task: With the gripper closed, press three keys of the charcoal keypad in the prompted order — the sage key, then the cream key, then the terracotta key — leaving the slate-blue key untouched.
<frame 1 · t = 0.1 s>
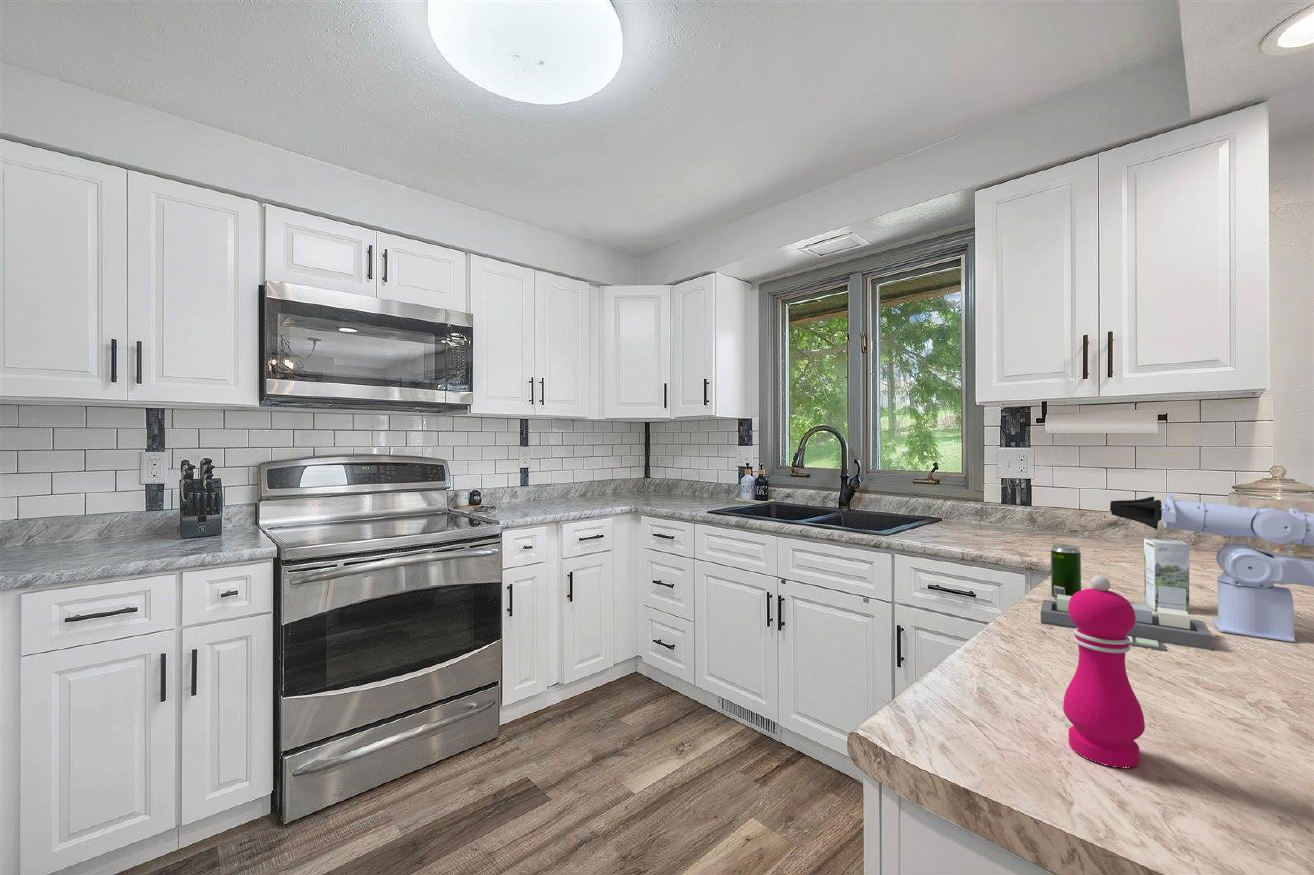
hand: (1111, 507, 115), 22 cm above the countertop, tool horizontal, fingers open, 7 cm apart
keypad base: (1119, 628, 105), on the countertop
key slate: (1136, 612, 104), point 3 cm above the countertop, slide at 0.0 cm
pepper mill: (1103, 755, 63), on the countertop
key sage: (1069, 603, 110), point 3 cm above the countertop, slide at 0.0 cm
key cream: (1173, 617, 100), point 3 cm above the countertop, slide at 0.0 cm
key terracotta: (1102, 608, 107), point 3 cm above the countertop, slide at 0.0 cm
beer can: (1066, 600, 124), on the countertop
syrup box: (1166, 610, 117), on the countertop
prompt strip: (1121, 641, 98), on the countertop
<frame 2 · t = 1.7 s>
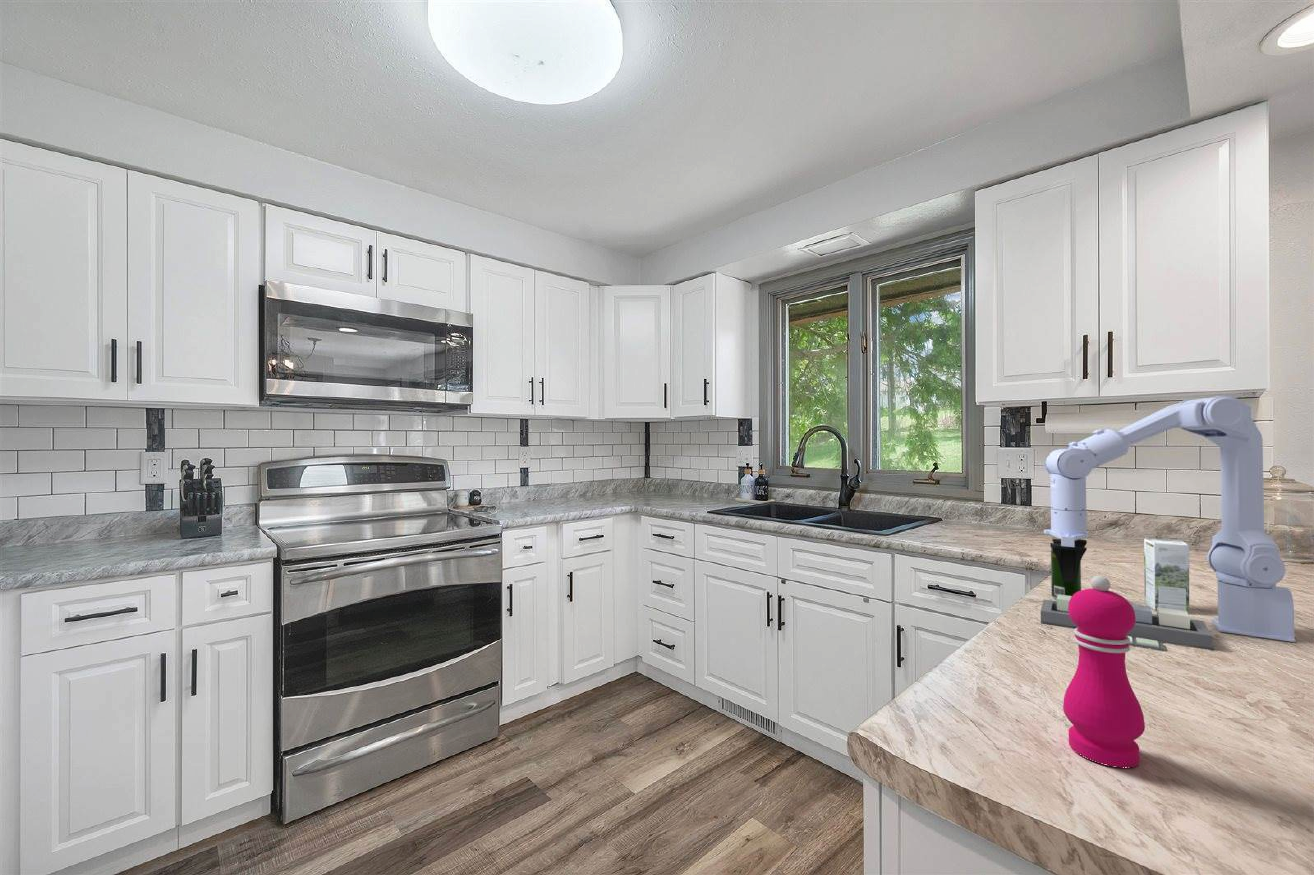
hand: (1069, 578, 110), 8 cm above the countertop, tool pointing down, fingers open, 6 cm apart
nothing on the countertop moved.
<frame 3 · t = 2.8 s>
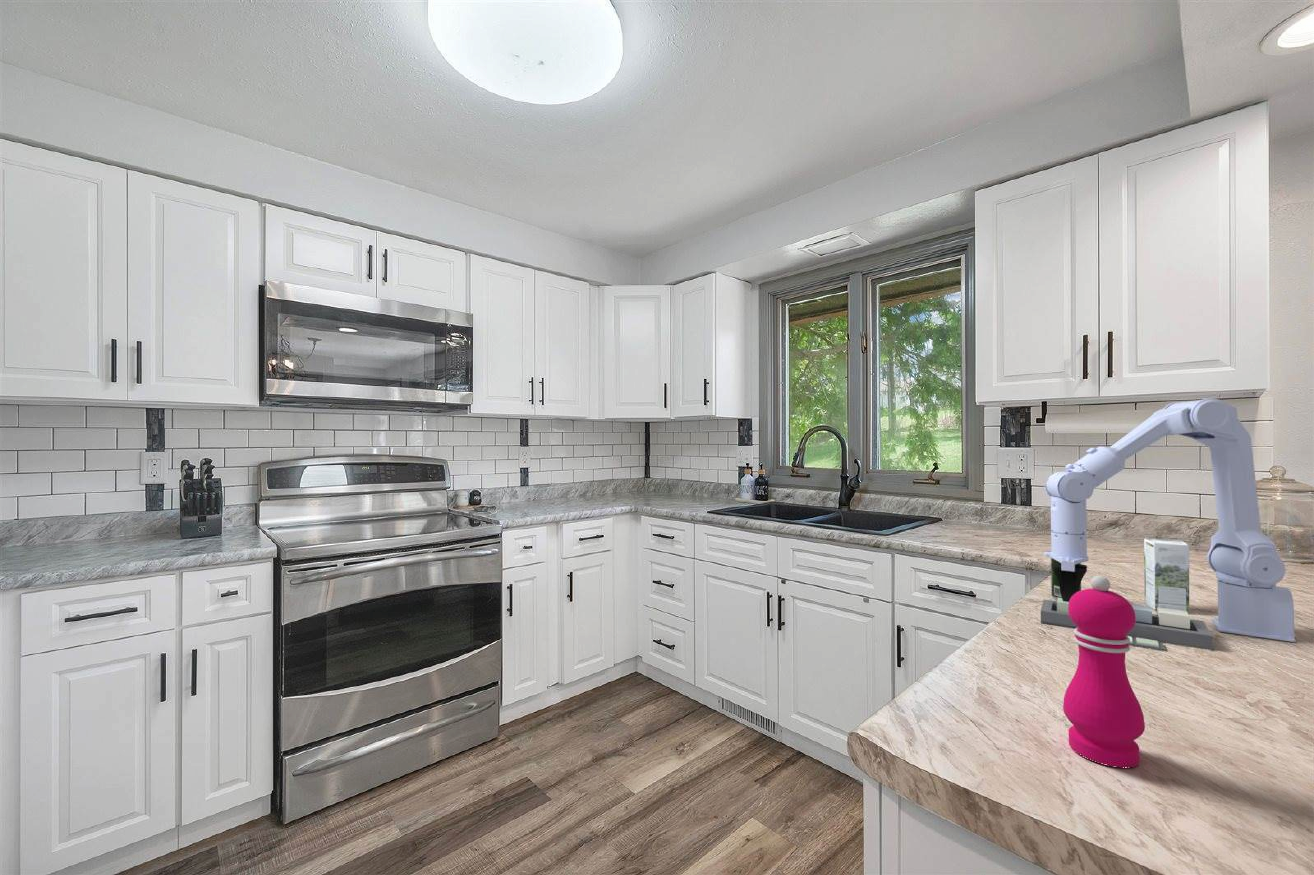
hand: (1069, 601, 110), 4 cm above the countertop, tool pointing down, fingers closed, pressing on key sage
key sage: (1069, 606, 110), point 3 cm above the countertop, slide at 0.6 cm, touching gripper
everything else where it was.
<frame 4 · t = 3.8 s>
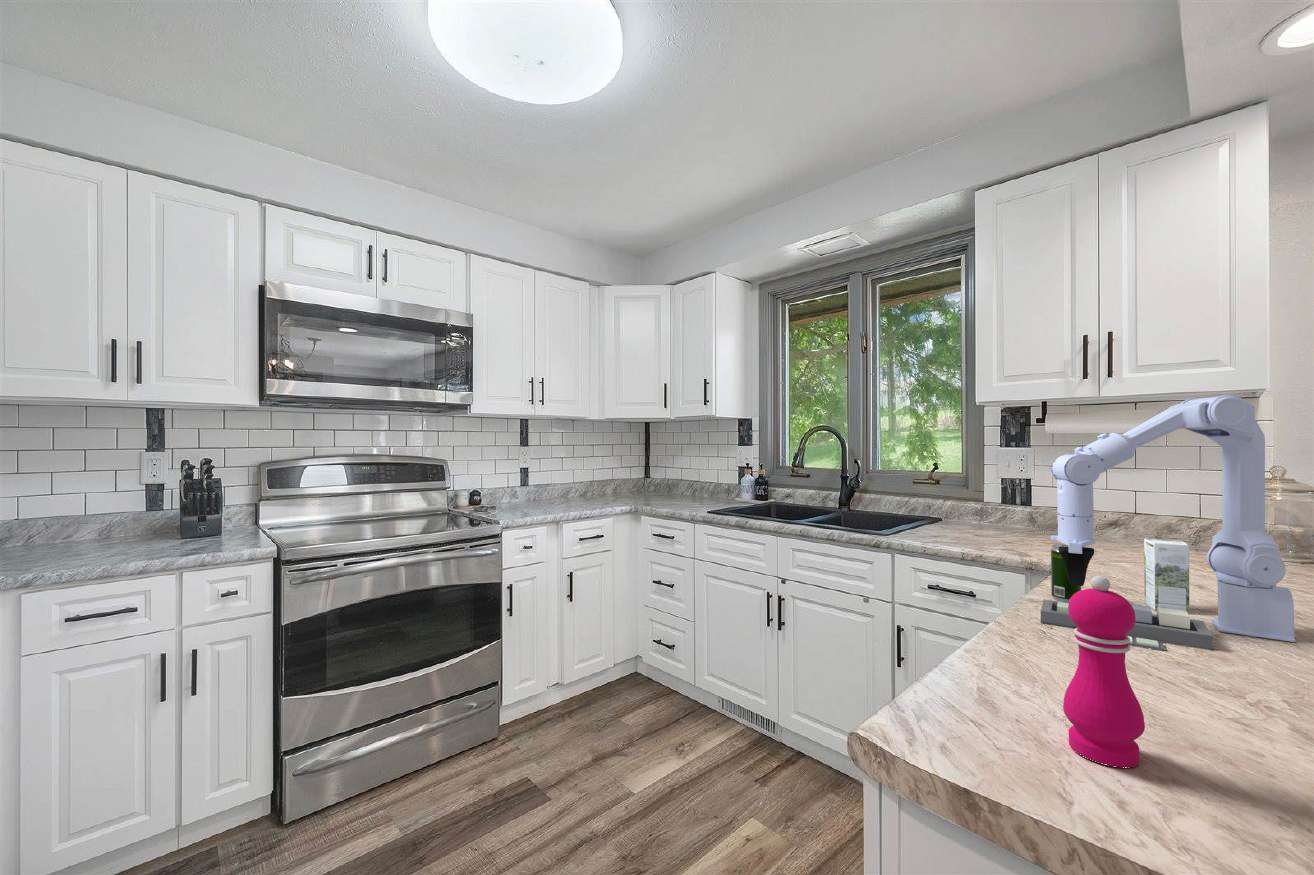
hand: (1076, 584, 109), 7 cm above the countertop, tool pointing down, fingers closed
key sage: (1069, 611, 110), point 2 cm above the countertop, slide at 1.5 cm
everything else where it was.
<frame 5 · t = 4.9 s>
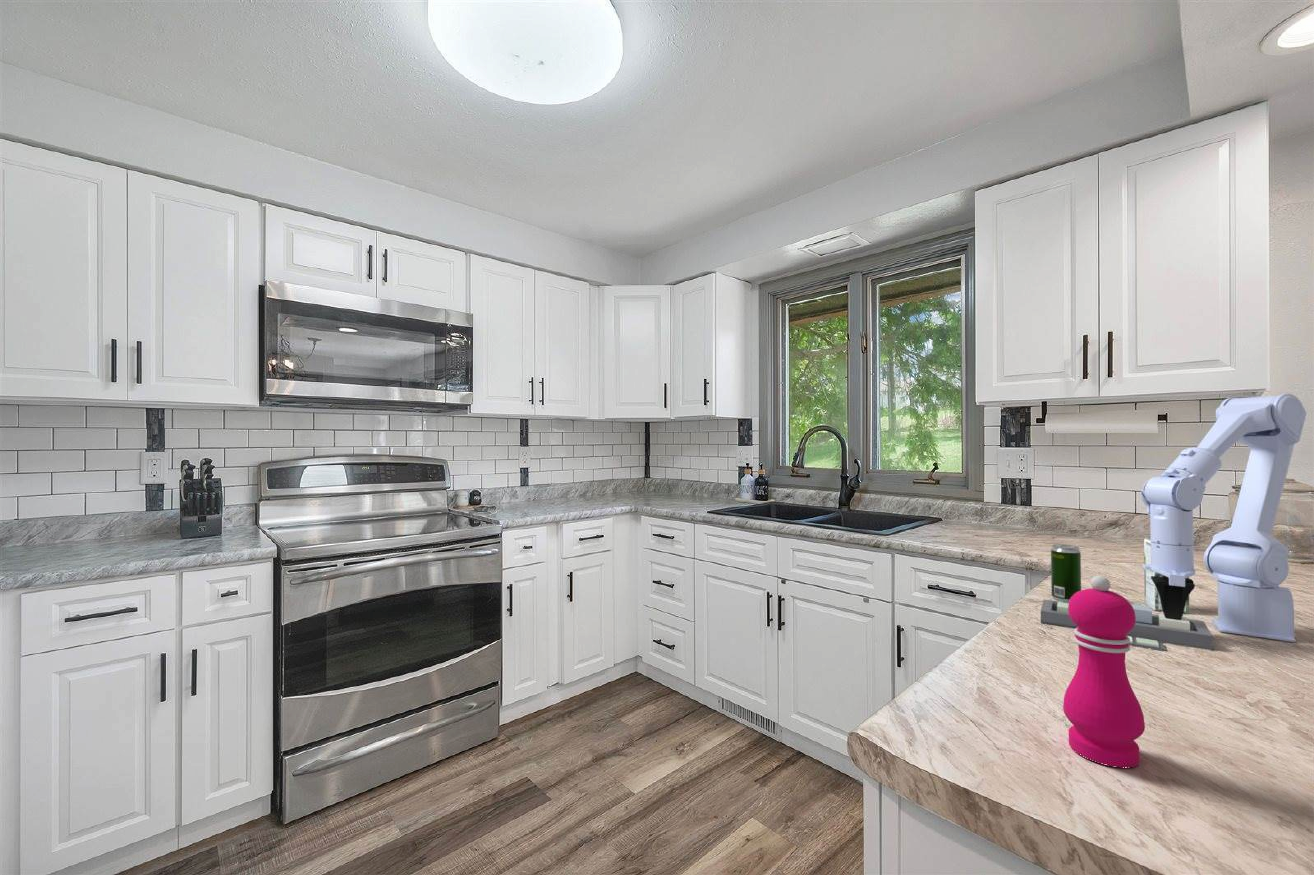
hand: (1172, 618, 100), 3 cm above the countertop, tool pointing down, fingers closed, pressing on key cream
key cream: (1173, 624, 100), point 2 cm above the countertop, slide at 1.2 cm, touching gripper
everything else where it was.
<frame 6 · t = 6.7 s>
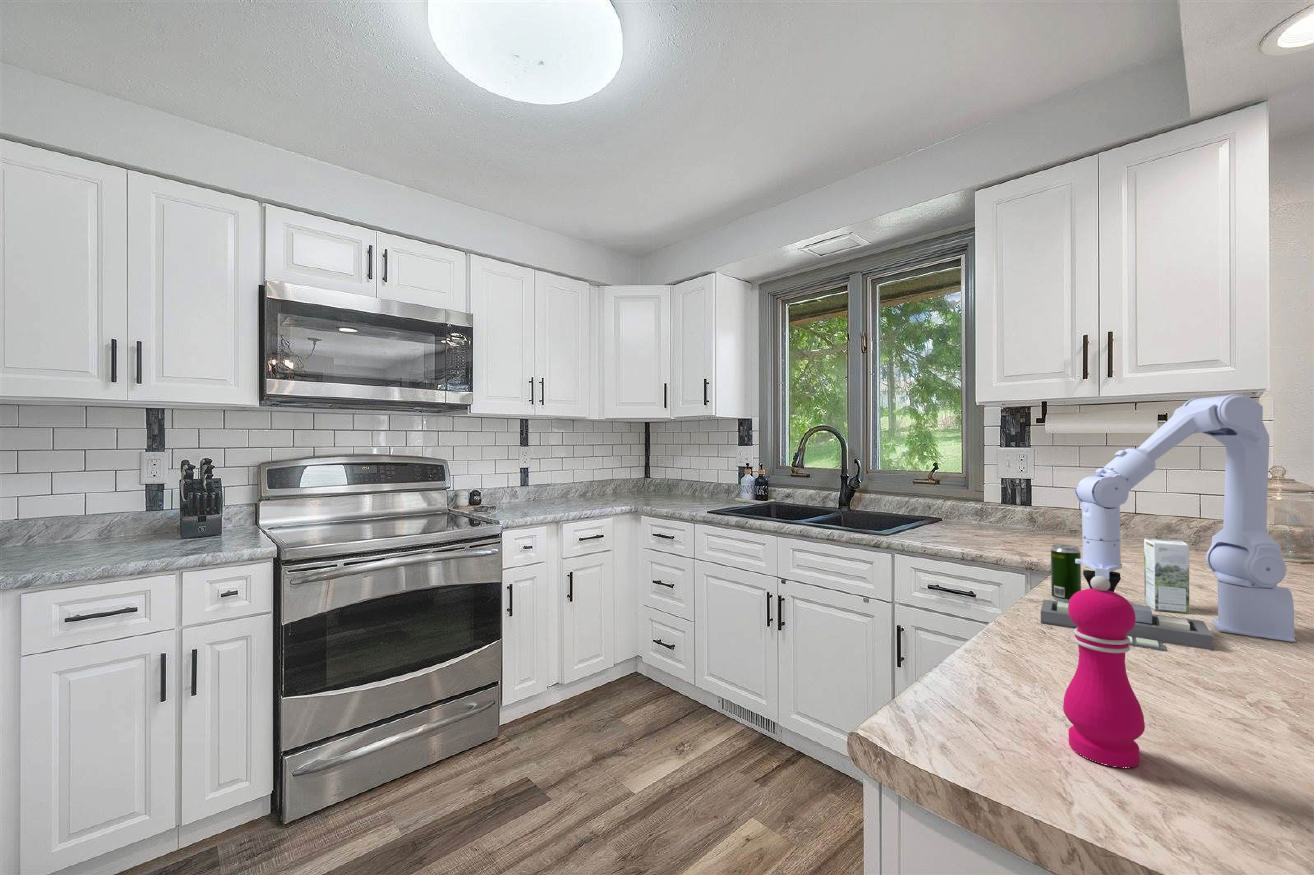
hand: (1101, 609, 107), 3 cm above the countertop, tool pointing down, fingers closed, pressing on key terracotta
key cream: (1173, 626, 100), point 2 cm above the countertop, slide at 1.5 cm
key terracotta: (1102, 615, 107), point 2 cm above the countertop, slide at 1.4 cm, touching gripper
everything else where it was.
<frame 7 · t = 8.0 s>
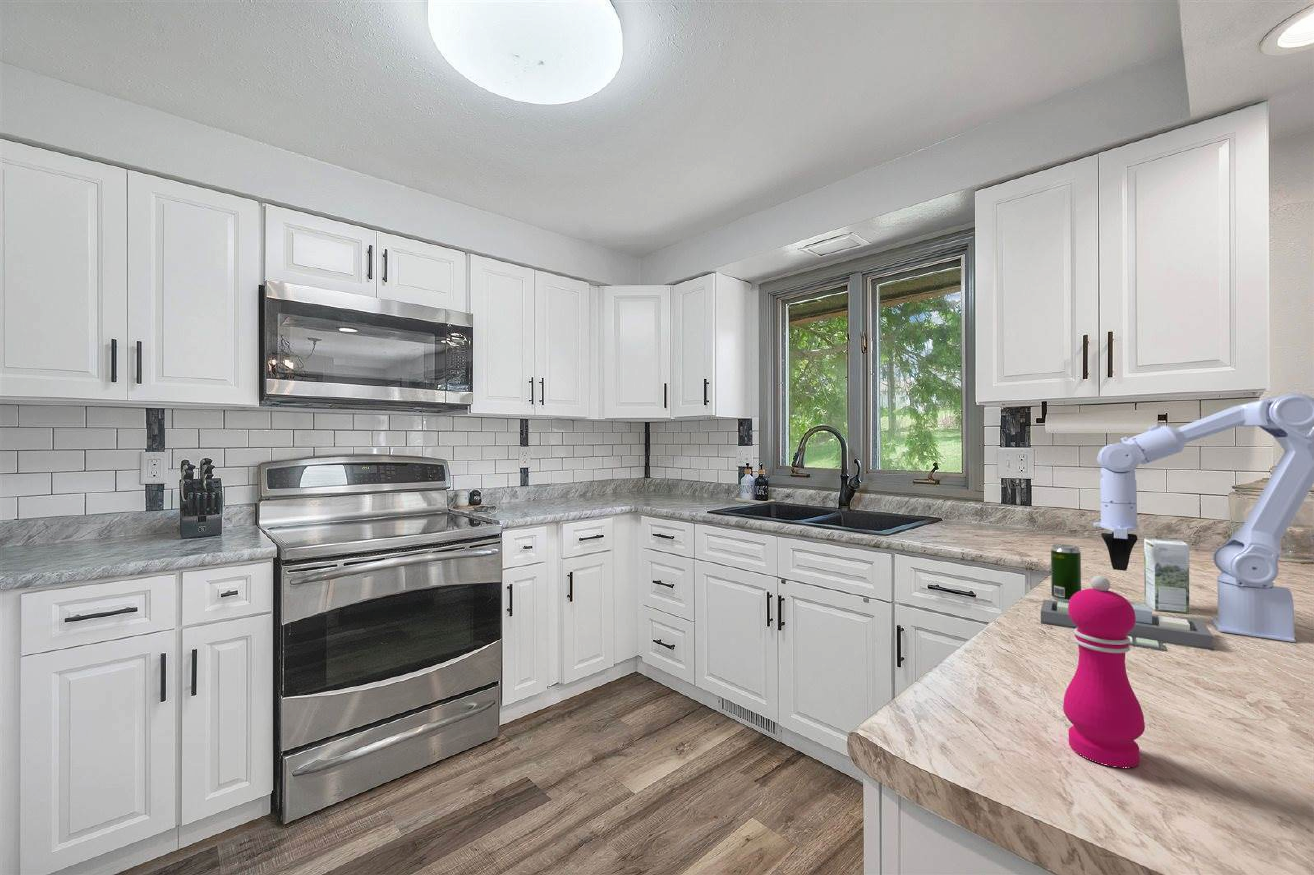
hand: (1119, 569, 113), 9 cm above the countertop, tool pointing down, fingers closed
key terracotta: (1102, 616, 107), point 2 cm above the countertop, slide at 1.5 cm
everything else where it was.
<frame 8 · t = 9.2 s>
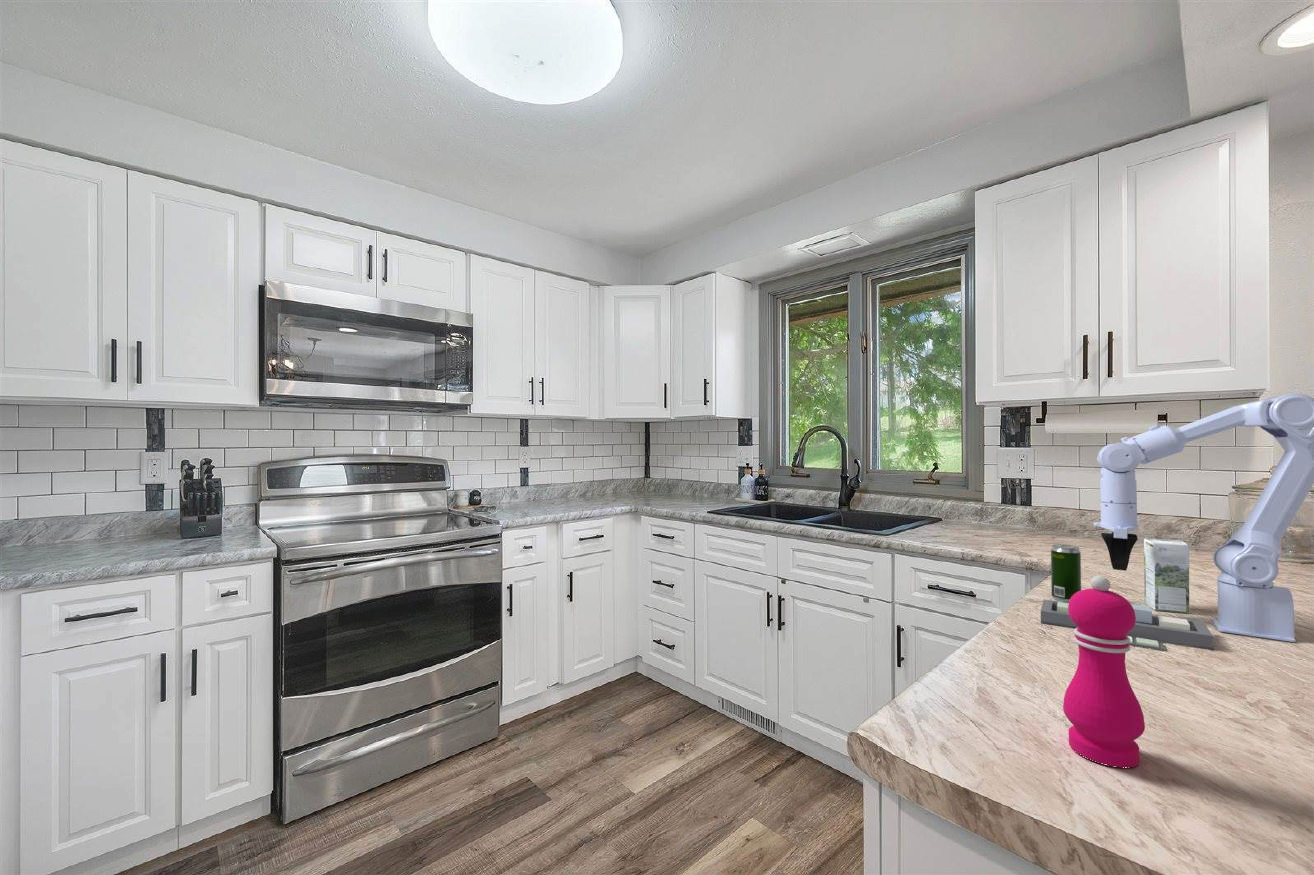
hand: (1119, 569, 113), 9 cm above the countertop, tool pointing down, fingers closed
nothing on the countertop moved.
at the end: key sage slide at 1.5 cm; key cream slide at 1.5 cm; key terracotta slide at 1.5 cm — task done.
